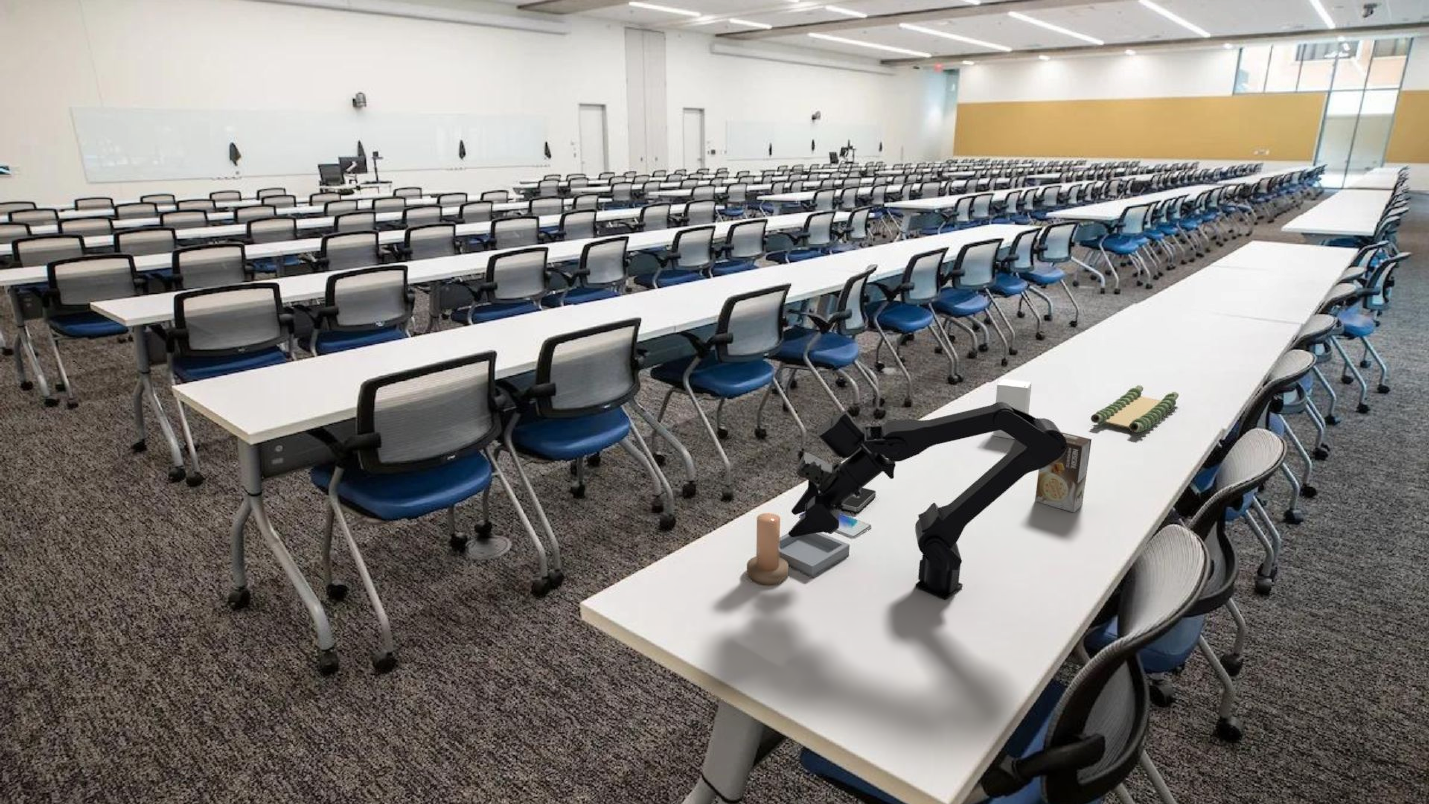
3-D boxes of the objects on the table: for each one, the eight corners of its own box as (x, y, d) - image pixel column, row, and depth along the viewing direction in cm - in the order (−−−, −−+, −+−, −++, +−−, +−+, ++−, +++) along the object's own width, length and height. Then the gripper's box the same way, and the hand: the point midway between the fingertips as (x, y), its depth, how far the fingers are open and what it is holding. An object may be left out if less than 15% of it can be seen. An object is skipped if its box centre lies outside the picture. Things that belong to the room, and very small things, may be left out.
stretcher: (1138, 441, 220) (1141, 424, 219) (1085, 429, 230) (1087, 412, 228) (1180, 407, 248) (1183, 392, 246) (1130, 397, 257) (1133, 382, 256)
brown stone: (796, 574, 153) (796, 565, 152) (769, 590, 148) (769, 580, 147) (765, 559, 158) (765, 550, 158) (738, 574, 153) (738, 565, 152)
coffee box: (1083, 504, 182) (1094, 438, 177) (1073, 513, 177) (1083, 446, 172) (1043, 492, 188) (1052, 429, 183) (1033, 501, 183) (1041, 436, 178)
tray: (849, 555, 160) (849, 544, 159) (812, 577, 152) (812, 566, 151) (802, 535, 168) (802, 525, 167) (765, 556, 160) (765, 545, 159)
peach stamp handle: (783, 565, 152) (784, 518, 149) (768, 573, 149) (769, 526, 146) (766, 557, 155) (767, 511, 152) (751, 565, 152) (752, 518, 149)
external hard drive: (876, 498, 186) (876, 491, 185) (857, 516, 177) (857, 508, 176) (848, 492, 189) (849, 484, 189) (828, 509, 181) (829, 501, 180)
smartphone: (854, 537, 166) (797, 515, 176) (854, 541, 167) (797, 519, 176) (873, 525, 171) (817, 504, 181) (872, 528, 171) (816, 507, 181)
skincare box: (1027, 434, 225) (1033, 382, 220) (1021, 441, 219) (1028, 388, 215) (996, 429, 229) (1002, 377, 224) (990, 436, 224) (996, 383, 219)
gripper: (825, 425, 152) (766, 474, 157) (822, 462, 134) (756, 516, 139) (864, 465, 153) (804, 513, 158) (866, 507, 135) (799, 559, 140)
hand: (791, 523), depth 149 cm, fingers open, 9 cm apart
